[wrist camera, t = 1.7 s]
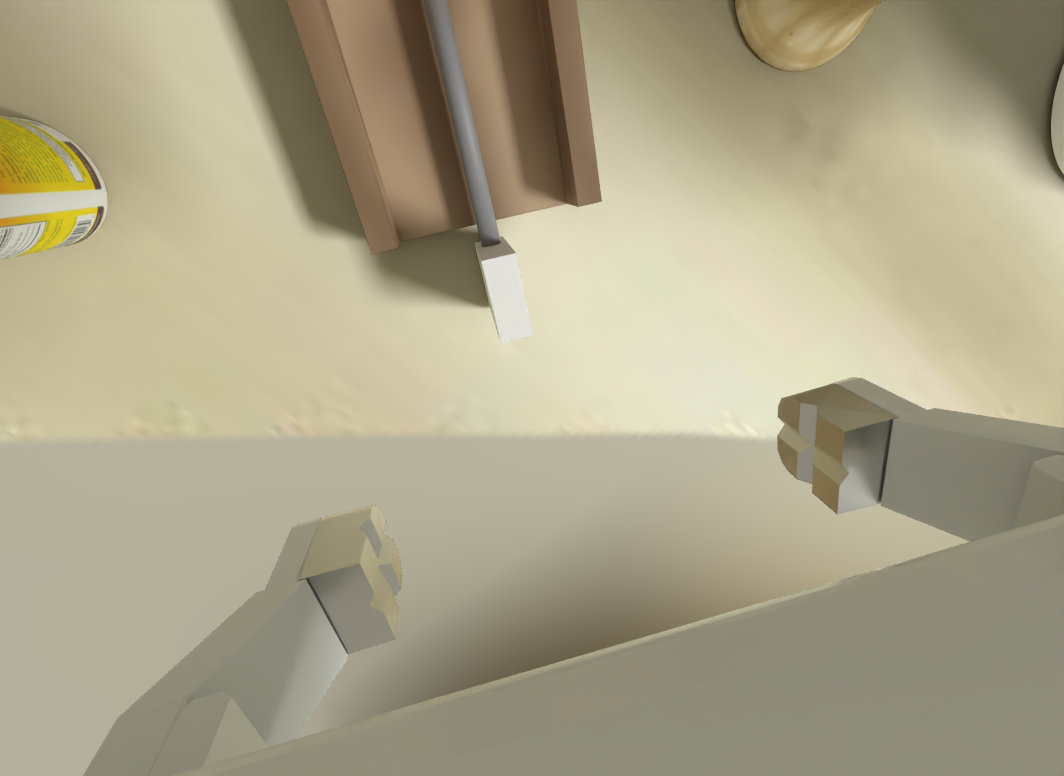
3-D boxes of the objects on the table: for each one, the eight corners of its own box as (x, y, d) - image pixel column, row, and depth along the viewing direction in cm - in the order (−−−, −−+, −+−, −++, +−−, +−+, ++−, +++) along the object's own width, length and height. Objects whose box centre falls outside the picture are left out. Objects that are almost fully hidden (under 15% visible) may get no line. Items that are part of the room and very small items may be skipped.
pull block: (471, -287, 19) (482, -488, 13) (568, 292, 29) (599, 322, 23) (266, -254, 19) (184, -448, 13) (438, 323, 29) (436, 363, 23)
